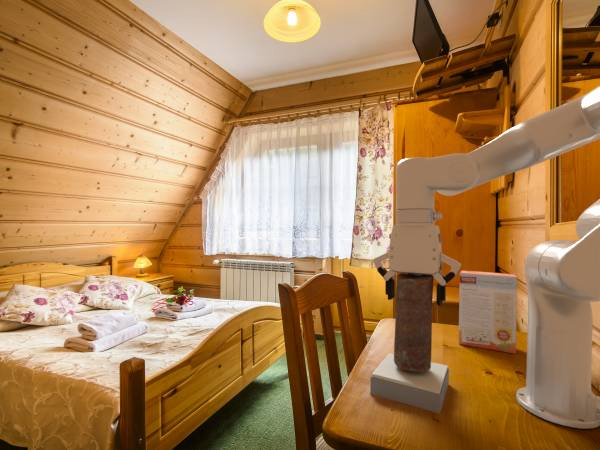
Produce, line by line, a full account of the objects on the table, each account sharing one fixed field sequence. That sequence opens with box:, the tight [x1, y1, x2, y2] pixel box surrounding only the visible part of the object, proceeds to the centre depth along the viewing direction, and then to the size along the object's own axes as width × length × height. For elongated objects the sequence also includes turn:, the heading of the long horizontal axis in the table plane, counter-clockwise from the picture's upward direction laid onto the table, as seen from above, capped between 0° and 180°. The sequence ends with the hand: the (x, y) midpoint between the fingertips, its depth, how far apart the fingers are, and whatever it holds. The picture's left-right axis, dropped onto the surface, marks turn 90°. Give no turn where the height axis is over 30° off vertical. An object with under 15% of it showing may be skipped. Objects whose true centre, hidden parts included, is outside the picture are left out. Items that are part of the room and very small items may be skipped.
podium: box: [369, 352, 450, 415], centre depth 68 cm, size 13×13×4 cm
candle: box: [393, 273, 434, 372], centre depth 68 cm, size 8×7×20 cm
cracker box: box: [458, 270, 518, 355], centre depth 94 cm, size 14×6×21 cm, turn 59°
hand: (414, 301), depth 68 cm, fingers open, 9 cm apart
